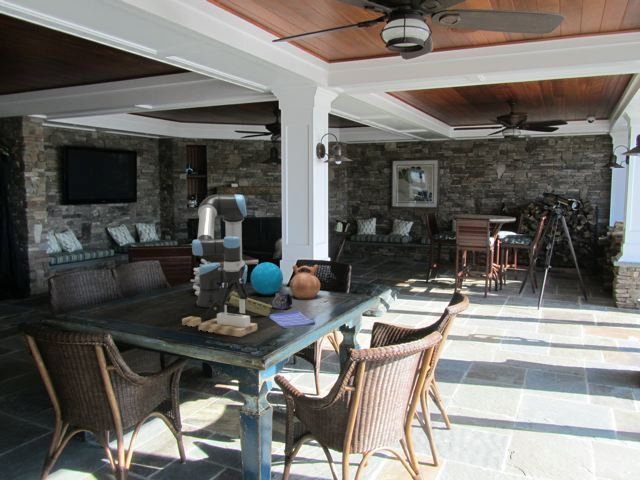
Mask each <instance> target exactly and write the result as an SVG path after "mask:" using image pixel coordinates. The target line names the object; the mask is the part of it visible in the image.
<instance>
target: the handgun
mask: <svg viewBox="0 0 640 480" xmlns="http://www.w3.org/2000/svg"><path fill="white" fill-rule="evenodd" d="M239 299H241V298H240V297H239V295H238V294H237V292H234V291H232V292H231V293H230V295H229V297H228V299H227V302H226V304H225V305H227V313H231V314H236V312H237V310H238V309H239ZM272 307H273V305H271V304H270V303H265V302H263V301H259V300H255V299H254V298H253V299H252V298H249V297H247V299H245V311H249V312H253V313H255V314H259V315H261V316H265V317H269V315H271V310H272ZM229 308H233V310H228V309H229ZM218 313H220V305H218V304H217V300H216V301H215V302H213V303H212V305H211V306H210V307H208V310H207V311H206V313H205V316H206V317H208V318H210V320H212V319H215V318H217V314H218Z"/></svg>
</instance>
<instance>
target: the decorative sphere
mask: <svg viewBox="0 0 640 480" xmlns="http://www.w3.org/2000/svg"><path fill="white" fill-rule="evenodd" d="M283 282H284V274H283V272H282V270H281V269H280V267H279V266H277V265H276V263H275V264H274V263H272V262H268V261H267V262H266V261H265V262H261V263H260V264H257V265H256V266H255V267H254V268H253V270H252V272H251V274H250V283H251V284H250V285H251V286H252V288H253V290H254V291H256V292H257V293H259V294H261V295H264V296H270V295H273V294H276V293H278V291H279V290H280V289H281V287H282V285H283Z"/></svg>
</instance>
